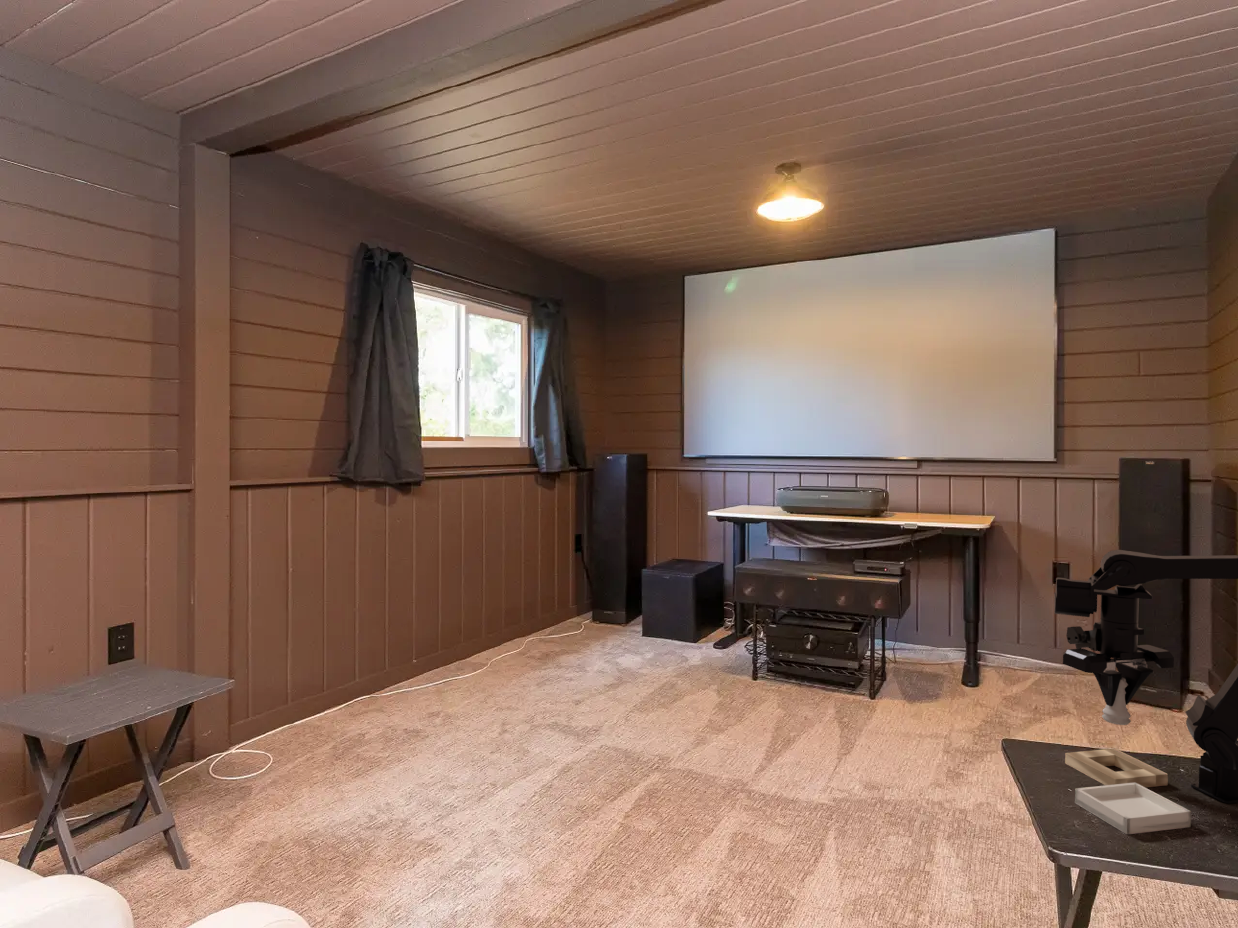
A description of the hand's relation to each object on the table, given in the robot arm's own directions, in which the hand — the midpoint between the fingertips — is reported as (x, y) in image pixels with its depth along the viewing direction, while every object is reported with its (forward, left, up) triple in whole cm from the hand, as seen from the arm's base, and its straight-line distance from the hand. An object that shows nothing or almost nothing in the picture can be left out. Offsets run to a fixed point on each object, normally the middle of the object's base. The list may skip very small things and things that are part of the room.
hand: (1116, 704), depth 135 cm
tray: (+10, +13, -13) cm, 21 cm away
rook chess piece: (0, 0, -3) cm, 3 cm away
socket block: (0, 0, -13) cm, 13 cm away
